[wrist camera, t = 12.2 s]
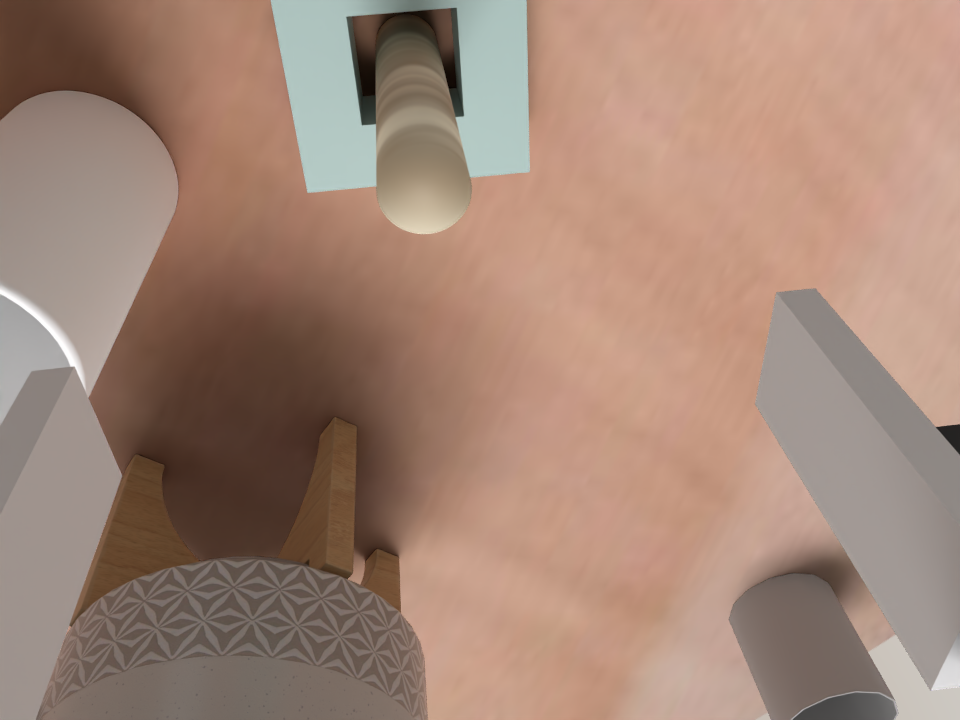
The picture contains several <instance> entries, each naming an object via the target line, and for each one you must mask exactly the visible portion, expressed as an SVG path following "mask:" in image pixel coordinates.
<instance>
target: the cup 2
mask: <svg viewBox="0 0 960 720" xmlns="http://www.w3.org/2000/svg"><path fill="white" fill-rule="evenodd" d="M729 621H730V624H731V626H732V628H733V631H734V633H735V636H736V638H737V640H738V643H739V645H740V647H741V650H742V652H743V654H744V657H745V659H746V662H747V664H748V666H749V669H750V671H751V673H752V676H753V678H754V680H755V683H756V685H757V688H758V690H759V692H760V695H761V697H762V699H763V702H764V704H765V706H766V709H767V711H768V714H769V716H770V718H771V720H895V719H896V717H897V715H898V709H897V705H896V702H895V699H894V698H893V696H892V694H891V692H890V690H889V689H888V687H887V685H886V684H885V682H884V680H883V678H882V676H881V675H880V673H879V671H878V669H877V668H876V666H875V664H874V662H873V660H872V659H871V657H870V655H869V654H868V652H867V650H866V648H865V646H864V645H863V643H862V641H861V639H860V638H859V636H858V634H857V632H856V630H855V629H854V627H853V625H852V623H851V622H850V620H849V618H848V616H847V615H846V613H845V611H844V609H843V608H842V606H841V604H840V602H839V600H838V599H837V597H836V595H835V593H834V592H833V590H832V588H831V586H830V585H829V583H827V582H826V581H824V580H822V579H821V578H819V577H817V576H816V575H811V574H799V573H791V574H787V575H782V576H778V577H773V578H769V579H767V580H765V581H763V582H761V583H760V584H758V585H756V586H754V587H752V588H750V589H748V590H747V591H746V592H745V593H744V594H743V595H742V596H741V597H740V598H739V599H738V600H737V601H736V602H735V603H734V604H733V607H732V610H731V614H730V617H729Z"/></svg>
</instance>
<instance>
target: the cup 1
mask: <svg viewBox="0 0 960 720" xmlns="http://www.w3.org/2000/svg"><path fill="white" fill-rule="evenodd" d="M177 201H178V179H177V174H176V170H175V167H174V164H173V161H172V159H171V157H170V154H169V152H168V151H167V149H166V147H165V145H164V144H163V142H162V141H161V140H160V138H159V137H158V136H157V135H156V133H155V132H154V131H153V130H152V129H151V128H150V127H149V126H148V125H147V124H146V123H145V122H144V121H143V120H142V119H140V118H139V117H138V116H137V115H135V114H134V113H132V112H131V111H130V110H128V109H126V108H125V107H123V106H121V105H119V104H117V103H115V102H113V101H111V100H109V99H106V98H104V97H100V96H97V95H94V94H90V93H85V92H78V91H53V92H47V93H43V94H39V95H36V96H34V97H31V98H29V99H27V100H25V101H23V102H22V103H20V104H19V105H17V106H16V107H15V108H14V109H13V110H12V111H10V112H9V113H8V114H7V115H6V116H5V117H4V118H3V119H2V120H0V425H1V423H2V422H3V420H4V418H5V416H6V415H7V413H8V411H9V409H10V408H11V406H12V404H13V402H14V401H15V399H16V397H17V395H18V394H19V392H20V390H21V388H22V387H23V385H24V383H25V381H26V380H27V378H28V376H29V374H30V373H31V371H35V370H45V369H54V368H64V367H73V366H75V368H76V371H77V373H78V375H79V378H80V380H81V382H82V384H83V387H84V389H85V391H86V394H87V396H88V398H89V396H90V394H91V392H92V389H93V387H94V385H95V383H96V381H97V379H98V377H99V375H100V372H101V370H102V368H103V366H104V364H105V362H106V359H107V357H108V355H109V353H110V351H111V349H112V347H113V344H114V342H115V340H116V338H117V336H118V334H119V331H120V329H121V327H122V325H123V323H124V321H125V319H126V316H127V314H128V312H129V310H130V308H131V306H132V303H133V301H134V299H135V297H136V295H137V293H138V291H139V288H140V286H141V284H142V282H143V280H144V278H145V275H146V273H147V271H148V269H149V267H150V265H151V263H152V260H153V258H154V256H155V254H156V252H157V250H158V247H159V245H160V243H161V241H162V239H163V237H164V235H165V232H166V230H167V228H168V226H169V224H170V222H171V219H172V217H173V215H174V213H175V210H176V206H177Z"/></svg>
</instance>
